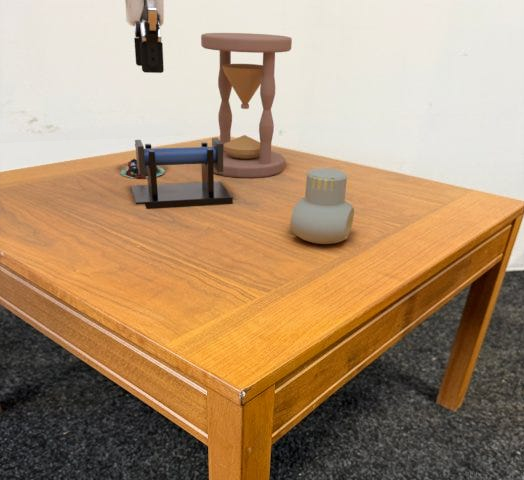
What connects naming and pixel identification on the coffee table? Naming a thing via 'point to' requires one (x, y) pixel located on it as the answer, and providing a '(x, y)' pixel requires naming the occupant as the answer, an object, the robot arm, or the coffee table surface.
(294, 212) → the air freshener
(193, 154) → the handle
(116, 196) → the coffee table surface
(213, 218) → the coffee table surface
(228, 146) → the hourglass
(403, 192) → the coffee table surface
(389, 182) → the coffee table surface
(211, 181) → the holder
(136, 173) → the dish
